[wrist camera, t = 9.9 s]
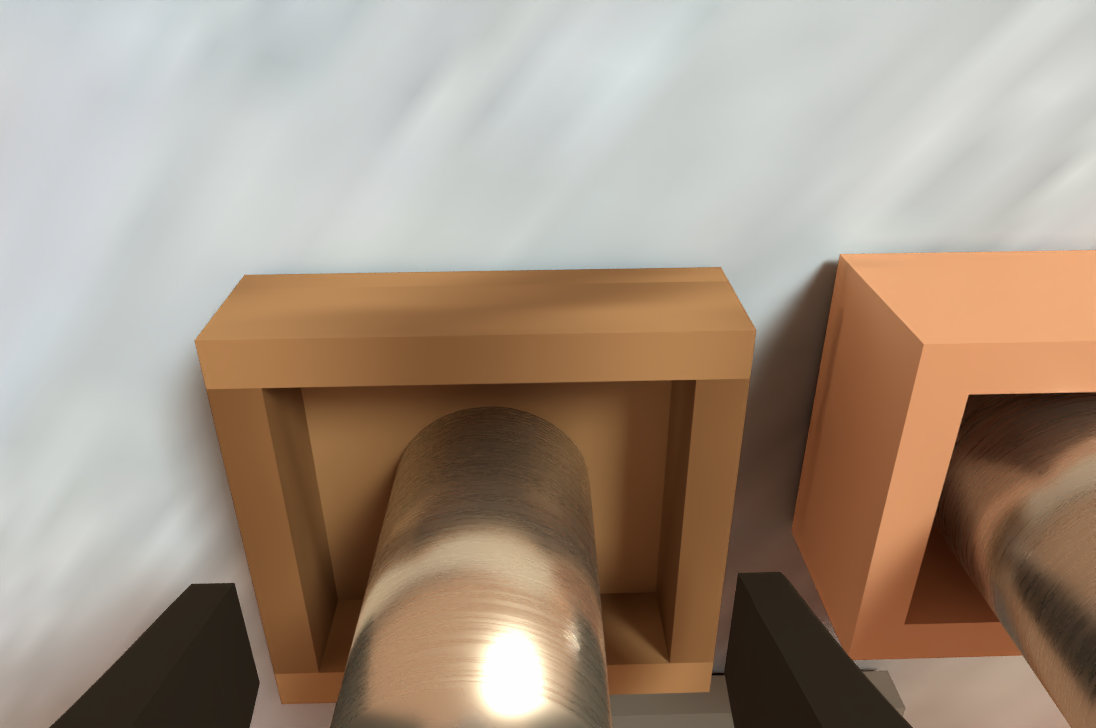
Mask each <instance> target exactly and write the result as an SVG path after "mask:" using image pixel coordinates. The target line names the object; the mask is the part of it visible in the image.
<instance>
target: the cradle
mask: <svg viewBox="0 0 1096 728" xmlns="http://www.w3.org/2000/svg"><path fill="white" fill-rule="evenodd" d="M863 673H864V674H865V675H866V676H867V678H868V679H869V680H870V681H871V682H872V683H873V684H874V686H875V687H876V688H877V689H878V690H879V691H880V692H881V694H882V695H883V696H884V697H885V698H886V699H887V700H888V702H889V703H890V704H891V705H892V706H893V707H894V708H895V709H896V710H897V711H898V712H899V713H900V715H901V716H902V717H903V714H904V711H905V706H904V704H903V702H902V700H901V698H900V696H899V694H898V692H897V689H896V687H895V685H894V683H893V681H892V679H891V677H890V675H889V673H888V671H864V672H863ZM609 697H610V709H611V720H612V728H734V724H733V718H732V713H731V708H730V702H729V696H728V691H727V685H726V679H725V675H718V676H711V684H710V691H709V692H694V693H658V694H622V695H609Z"/></svg>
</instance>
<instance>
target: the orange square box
mask: <svg viewBox="0 0 1096 728" xmlns="http://www.w3.org/2000/svg"><path fill="white" fill-rule="evenodd" d="M1071 392H1096V250H1071V251H1009V252H947V253H885V254H840V257H839V262H838V268H837V274H836V279H835V285H834V291H833V296H832V302H831V308H830V313H829V319H828V325H827V331H826V336H825V342H824V348H823V353H822V359H821V365H820V370H819V376H818V382H817V387H816V393H815V399H814V405H813V410H812V416H811V422H810V427H809V433H808V439H807V444H806V450H805V456H804V461H803V467H802V473H801V479H800V484H799V490H798V496H797V501H796V507H795V513H794V518H793V524H792V530H791V532H792V534H793V536H794V538H795V541H796V543H797V545H798V548H799V550H800V552H801V555H802V557H803V559H804V561H805V564H806V566H807V568H808V571H809V573H810V575H811V577H812V580H813V582H814V584H815V587H816V589H817V591H818V593H819V596H820V598H821V600H822V603H823V605H824V607H825V610H826V612H827V614H828V616H829V619H830V621H831V623H832V626H833V628H834V630H835V632H836V635H837V637H838V639H839V642H840V644H841V646H842V648H843V650H844V651H845V652H846V653H847V654H848V656H849V657H850V658H851V659H852V660H871V659H908V658H945V657H982V656H1019V655H1022V654H1021V652H1020V651H1019V649H1018V648H1017V646H1016V645H1015V643H1014V642H1013V640H1012V639H1011V637H1010V636H1009V634H1008V633H1007V631H1006V630H1005V629H1004V627H1003V626H1002V624H1001V623H1000V621H999V620H998V618H997V617H996V615H995V614H994V612H993V611H992V609H991V608H990V606H989V605H988V603H987V602H986V600H985V599H984V597H983V596H982V594H981V593H980V592H979V590H978V589H977V587H976V586H975V584H974V583H973V581H972V580H971V578H970V577H969V575H968V574H967V572H966V571H965V569H964V568H963V566H962V565H961V563H960V562H959V560H958V559H957V557H956V556H955V554H954V553H953V552H952V550H951V549H950V547H949V546H948V544H947V543H946V541H945V540H944V538H943V537H942V535H941V534H940V532H939V531H938V529H937V528H936V526H935V525H934V523H933V520H934V517H935V513H936V509H937V506H938V502H939V499H940V495H941V492H942V488H943V484H944V481H945V477H946V474H947V470H948V467H949V463H950V459H951V456H952V452H953V449H954V445H955V442H956V438H957V434H958V431H959V427H960V424H961V420H962V417H963V413H964V410H965V406H966V402H967V399H968V395H970V394H1020V393H1071Z"/></svg>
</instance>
